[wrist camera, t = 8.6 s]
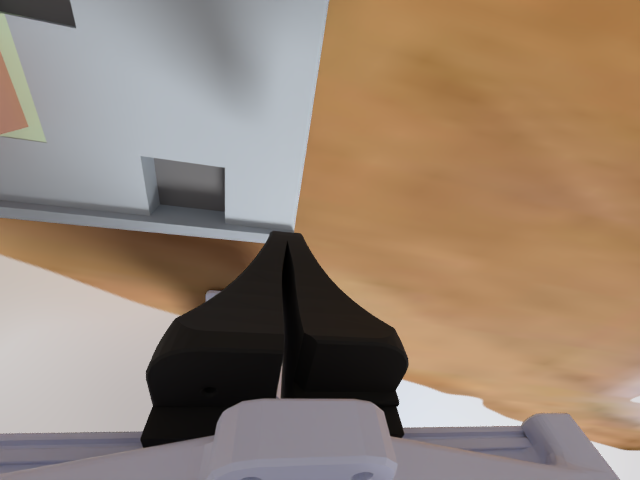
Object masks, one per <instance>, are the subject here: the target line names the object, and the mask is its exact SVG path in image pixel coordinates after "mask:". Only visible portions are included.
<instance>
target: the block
mask: <svg viewBox="0 0 640 480" xmlns="http://www.w3.org/2000/svg"><path fill="white" fill-rule="evenodd" d="M26 127H29V126H28V124H27V121H26V118H25V116H24V113H23V110H22V108H21V105H20V102H19V100H18V97H17V94H16V92H15V89H14V86H13V84H12V81H11V78H10V76H9V73H8V70H7V68H6V65H5V62H4V60H3V57H2V54H1V52H0V135H1V134H4V133H8V132H12V131H15V130H19V129H23V128H26Z"/></svg>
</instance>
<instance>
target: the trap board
mask: <svg viewBox="0 0 640 480" xmlns="http://www.w3.org/2000/svg"><path fill="white" fill-rule="evenodd" d="M328 3H329V0H0V52H1V54H2V57H3V60H4V62H5V65H6V68H7V70H8V73H9V76H10V78H11V81H12V84H13V86H14V89H15V92H16V94H17V97H18V100H19V102H20V105H21V108H22V110H23V113H24V116H25V118H26V121H27V124H28V126H29V127H26V128H23V129H19V130H15V131H12V132H8V133H4V134H1V135H0V218H10V219H21V220H31V221H41V222H52V223H62V224H72V225H82V226H93V227H103V228H113V229H124V230H134V231H144V232H154V233H165V234H175V235H185V236H196V237H206V238H216V239H227V240H237V241H247V242H257V243H266V241H267V239H268V237H269V235H270V232H272V231H282V232H291V233H294V227H295V221H296V214H297V208H298V201H299V194H300V188H301V181H302V175H303V168H304V161H305V155H306V148H307V142H308V135H309V129H310V122H311V115H312V109H313V102H314V96H315V89H316V82H317V76H318V69H319V63H320V56H321V49H322V43H323V36H324V30H325V23H326V17H327V10H328Z"/></svg>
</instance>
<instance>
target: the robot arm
mask: <svg viewBox="0 0 640 480" xmlns="http://www.w3.org/2000/svg"><path fill="white" fill-rule="evenodd" d="M205 298H206V302H205V303H203V304H202V305H200V306H198V307H197V308H195V309H193V310H191V311H189V312H187V313H185V314H183V315H182V316H179V317H178V318H176V319H175V320H174V321H173V322H172V324H171V325H170V327H169V328H168V329H167V331H166V332H165V334H164V336H163V337H162V339H161V341H160V342H159V344H158V346H157V348H156V350H155V352H154V354H153V356H152V359H151V361H150V363H149V366H148V368H147V370H146V381H147V384H148V388H149V392H150V396H151V400H152V404H153V407H152V410H151V412H150V415H149V417H148V420H147V423H146V425H145V428H144V430H143V432H90V433H89V432H83V433H15V434H0V480H620V479H619V478H618V477H617V475H616V474H615V473H614V471H613V470H612V469H611V467H610V466H609V465H608V464H607V462H606V461H605V460H604V458H603V457H602V456H601V455H600V453H599V452H598V451H597V449H596V448H595V447H594V446H593V444H592V443H591V442H590V440H589V439H588V438H587V437H586V435H585V434H584V433H583V431H582V430H581V429H580V428H579V426H578V425H577V424H576V422H575V421H574V420H573V419H572V417H571V416H570V415H569V414H567V413H539V414H535V415H532V416H530V417H529V418H527V419H526V420H525V421H524V422H523V423H522V425H521V426H500V427H499V426H494V427H424V428H403V427H402V424H401V421H400V418H399V414H398V411H397V408H396V406H398V405H399V400H398V396H397V393H396V388H397V387H398V385H399V383H400V382H401V380H402V378H403V376H404V375H405V373H406V371H407V368H408V357H407V355H406V352H405V350H404V347H403V345H402V342H401V340H400V338H399V336H398V334H397V333H396V330H395V329H394V328H393V327H391V326H389V325H388V324H386V323H384V322H383V321H381V320H380V319H378V318H376V317H375V316H373V315H372V314H370V313H369V312H367V311H366V310H365V309H363V308H362V307H360V306H359V305H358V304H357V303H355V302H354V301H353V300H352V299H351V298H349V297H348V296H347V295H346V294H345V293H344V292H343V291H342V290H341V289H340V288H339V287H338V286H337V285H336V284H335V283H334V282H333V281H332V280H331V279H330V278H329V277H328V275H327V274H326V273H325V271H324V270H323V269H322V268H321V266H320V265H319V263H318V262H317V260H316V259H315V257H314V256H313V254H312V253H311V251H310V249H309V247H308V246H307V244H306V242H305V240H304V238H303V236H302V235H301V233H291V232H282V231H272V232H270V235H269V237H268V239H267V241H266V243H265V245H264V246H263V248H262V249H261V251H260V252H259V254H258V255H257V256H256V258H255V259H254V260H253V261H252V262H251V264H250V265H249V266H248V267H247V268H246V269H245V270H244V271H243V273H242V274H241V275H239V276H238V277H237V278H236V279H235V280H234V281H233V282H232V283H231V284H229V285H228V286H227V287H226V288H225V289H223V290H222V291H215V290H209V291H207V293H206V296H205Z"/></svg>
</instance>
